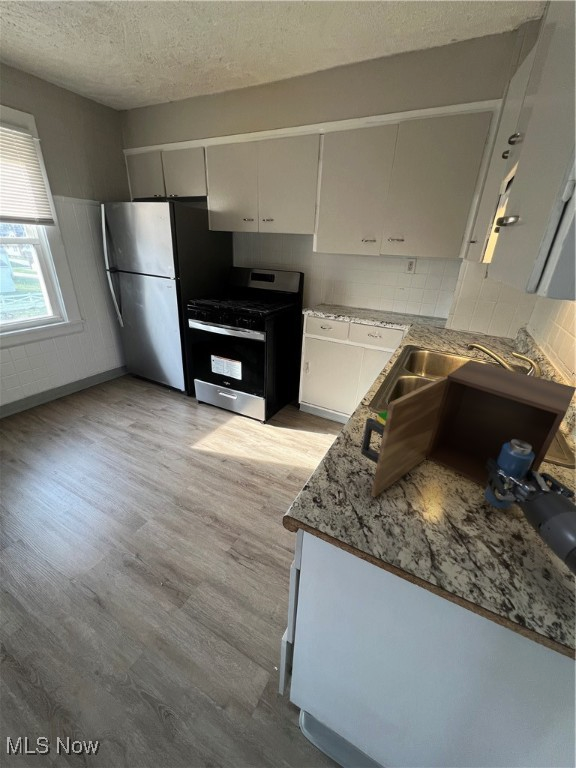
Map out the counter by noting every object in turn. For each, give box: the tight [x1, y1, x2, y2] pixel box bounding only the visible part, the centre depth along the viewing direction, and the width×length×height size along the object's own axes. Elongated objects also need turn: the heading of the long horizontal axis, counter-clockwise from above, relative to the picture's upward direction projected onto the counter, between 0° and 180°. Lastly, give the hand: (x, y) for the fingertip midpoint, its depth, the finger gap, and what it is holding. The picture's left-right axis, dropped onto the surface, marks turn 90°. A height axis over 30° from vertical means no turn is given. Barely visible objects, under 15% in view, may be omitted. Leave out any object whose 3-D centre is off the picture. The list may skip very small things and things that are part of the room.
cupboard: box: [425, 359, 576, 489], centre depth 76 cm, size 16×22×24 cm
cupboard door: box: [360, 375, 448, 498], centre depth 73 cm, size 7×22×24 cm, turn 130°
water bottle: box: [483, 439, 535, 510], centre depth 64 cm, size 5×5×14 cm
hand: (502, 462), depth 66 cm, fingers closed on water bottle, 5 cm apart
